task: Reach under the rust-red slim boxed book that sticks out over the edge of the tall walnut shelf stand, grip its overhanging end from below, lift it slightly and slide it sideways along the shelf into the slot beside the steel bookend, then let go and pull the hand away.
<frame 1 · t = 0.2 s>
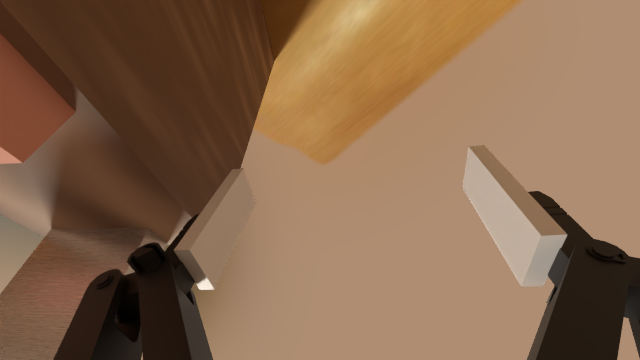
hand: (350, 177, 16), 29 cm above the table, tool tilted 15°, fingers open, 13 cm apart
bookend: (110, 236, 21), resting on shelf stand
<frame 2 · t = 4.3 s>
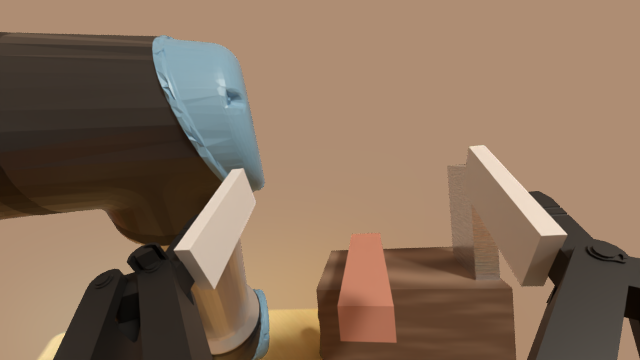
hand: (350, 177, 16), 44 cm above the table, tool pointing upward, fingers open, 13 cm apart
bookend: (473, 266, 34), resting on shelf stand
book: (367, 281, 32), point 30 cm above the table, touching shelf stand
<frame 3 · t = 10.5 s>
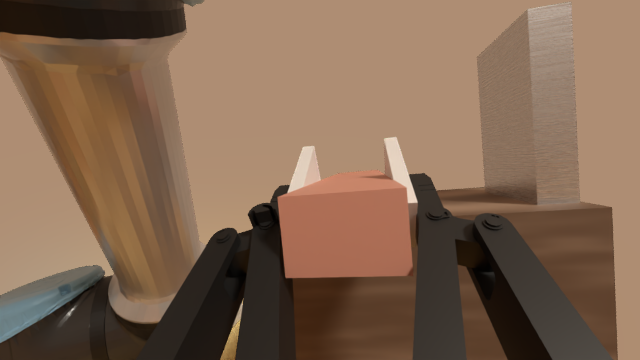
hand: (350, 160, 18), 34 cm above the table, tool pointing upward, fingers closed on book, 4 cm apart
bookend: (523, 196, 22), resting on shelf stand
book: (356, 215, 20), point 30 cm above the table, touching gripper, shelf stand
when the fingers open (35 cm above the table, at t = 14.0 s): book stays where it is, resting on shelf stand.
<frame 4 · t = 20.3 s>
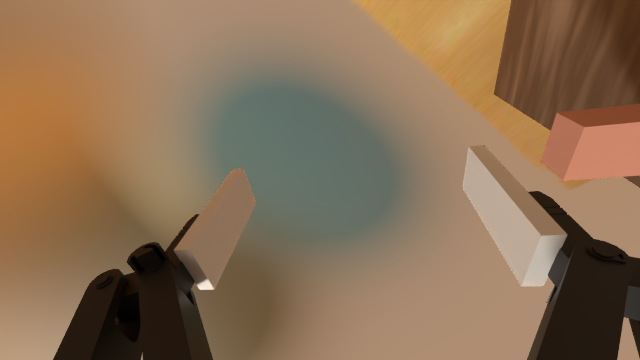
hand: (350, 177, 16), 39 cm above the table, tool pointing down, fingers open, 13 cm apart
shelf stand: (554, 21, 42), on the table
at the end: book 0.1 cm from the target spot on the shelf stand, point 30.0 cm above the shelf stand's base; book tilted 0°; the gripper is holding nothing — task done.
